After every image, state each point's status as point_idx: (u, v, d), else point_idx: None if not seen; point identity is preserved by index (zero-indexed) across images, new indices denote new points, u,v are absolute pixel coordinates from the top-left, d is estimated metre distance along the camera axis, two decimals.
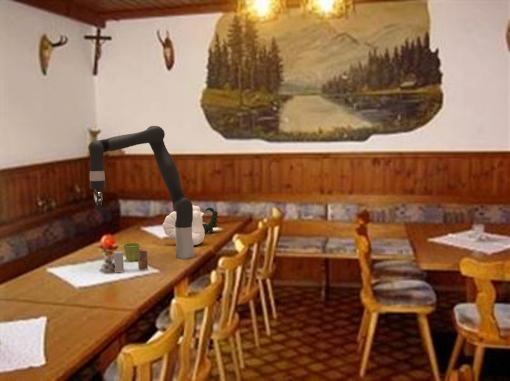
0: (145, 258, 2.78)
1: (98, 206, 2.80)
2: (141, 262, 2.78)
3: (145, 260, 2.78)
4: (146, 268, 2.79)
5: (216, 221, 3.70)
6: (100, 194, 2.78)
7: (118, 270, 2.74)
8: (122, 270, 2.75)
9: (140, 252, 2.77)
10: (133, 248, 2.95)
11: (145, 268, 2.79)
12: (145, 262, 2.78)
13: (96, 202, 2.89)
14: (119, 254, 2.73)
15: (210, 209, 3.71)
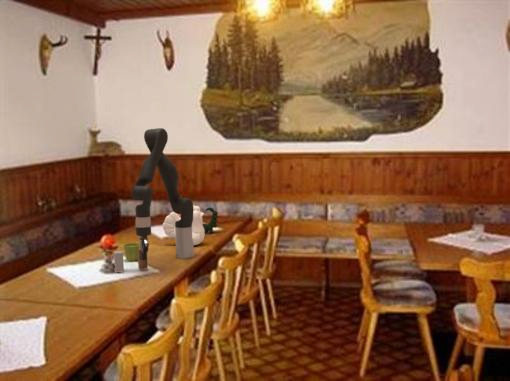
0: None
1: (143, 254, 2.74)
2: (141, 262, 2.78)
3: (145, 260, 2.78)
4: (146, 268, 2.79)
5: (216, 221, 3.70)
6: (147, 246, 2.70)
7: (118, 270, 2.74)
8: (122, 270, 2.75)
9: (140, 251, 2.77)
10: (133, 248, 2.95)
11: (145, 268, 2.79)
12: (145, 262, 2.79)
13: None
14: (119, 254, 2.73)
15: (210, 209, 3.71)
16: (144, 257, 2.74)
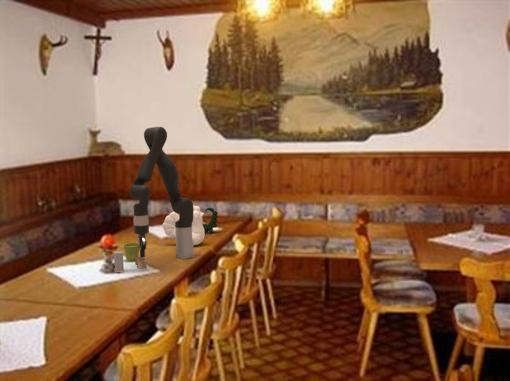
0: (142, 258, 2.88)
1: (141, 252, 2.79)
2: (138, 259, 2.85)
3: (142, 258, 2.87)
4: (144, 260, 2.83)
5: (216, 221, 3.70)
6: (145, 244, 2.75)
7: (118, 270, 2.74)
8: (122, 270, 2.75)
9: (136, 257, 2.90)
10: (133, 248, 2.95)
11: (143, 260, 2.83)
12: (142, 258, 2.86)
13: None
14: (119, 254, 2.73)
15: (210, 209, 3.71)
16: (142, 255, 2.80)
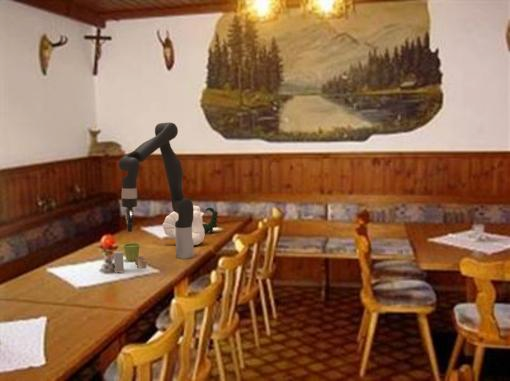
0: (142, 258, 2.88)
1: (128, 226, 2.74)
2: (138, 259, 2.85)
3: (142, 258, 2.87)
4: (144, 260, 2.83)
5: (216, 221, 3.70)
6: (132, 217, 2.70)
7: (118, 270, 2.74)
8: (122, 270, 2.75)
9: (136, 257, 2.90)
10: (133, 248, 2.95)
11: (143, 260, 2.83)
12: (142, 258, 2.86)
13: None
14: (119, 254, 2.73)
15: (210, 209, 3.71)
16: (129, 229, 2.74)
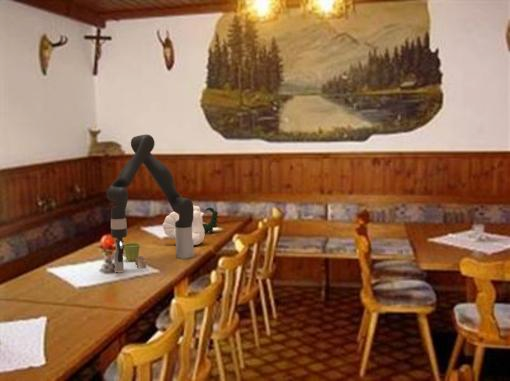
0: (142, 258, 2.88)
1: (119, 256, 2.70)
2: (138, 259, 2.85)
3: (142, 258, 2.87)
4: (144, 260, 2.83)
5: (216, 221, 3.70)
6: (122, 248, 2.66)
7: (118, 270, 2.74)
8: (122, 270, 2.75)
9: (136, 257, 2.90)
10: (133, 248, 2.95)
11: (143, 260, 2.83)
12: (142, 258, 2.86)
13: None
14: None
15: (210, 209, 3.71)
16: (120, 259, 2.70)
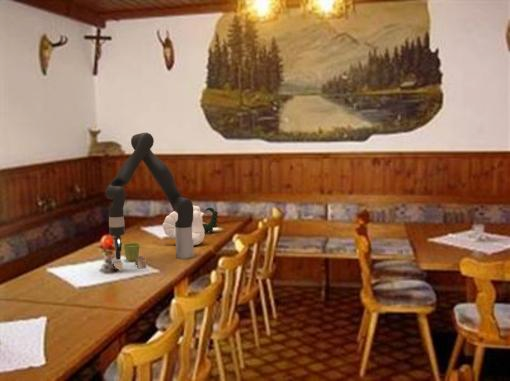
0: (142, 258, 2.88)
1: (117, 254, 2.76)
2: (138, 259, 2.85)
3: (142, 258, 2.87)
4: (144, 260, 2.83)
5: (216, 221, 3.70)
6: (120, 245, 2.72)
7: (116, 262, 2.78)
8: (120, 262, 2.79)
9: (136, 257, 2.90)
10: (133, 248, 2.95)
11: (143, 260, 2.83)
12: (142, 258, 2.86)
13: None
14: (116, 259, 2.86)
15: (210, 209, 3.71)
16: (118, 257, 2.76)
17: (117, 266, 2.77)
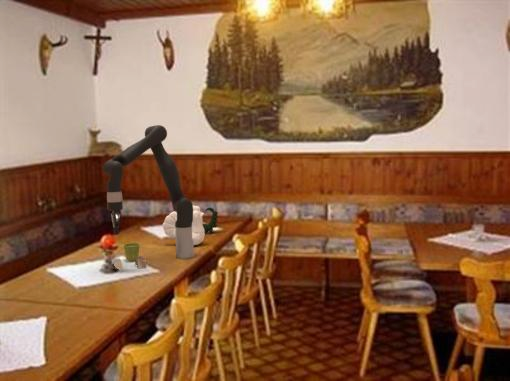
0: (142, 258, 2.88)
1: (115, 229, 2.77)
2: (138, 259, 2.85)
3: (142, 258, 2.87)
4: (144, 260, 2.83)
5: (216, 221, 3.70)
6: (118, 220, 2.72)
7: (116, 262, 2.78)
8: (120, 262, 2.79)
9: (136, 257, 2.90)
10: (133, 248, 2.95)
11: (143, 260, 2.83)
12: (142, 258, 2.86)
13: None
14: (116, 259, 2.86)
15: (210, 209, 3.71)
16: (116, 232, 2.77)
17: (117, 266, 2.77)
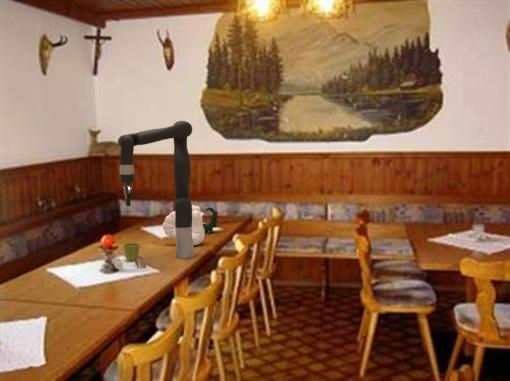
0: (142, 258, 2.88)
1: (127, 201, 2.87)
2: (138, 259, 2.85)
3: (142, 258, 2.87)
4: (144, 260, 2.83)
5: (216, 221, 3.70)
6: (130, 192, 2.83)
7: (116, 262, 2.78)
8: (120, 262, 2.79)
9: (136, 257, 2.90)
10: (133, 248, 2.95)
11: (143, 260, 2.83)
12: (142, 258, 2.86)
13: None
14: (116, 259, 2.86)
15: (210, 209, 3.71)
16: (128, 203, 2.88)
17: (117, 266, 2.77)
